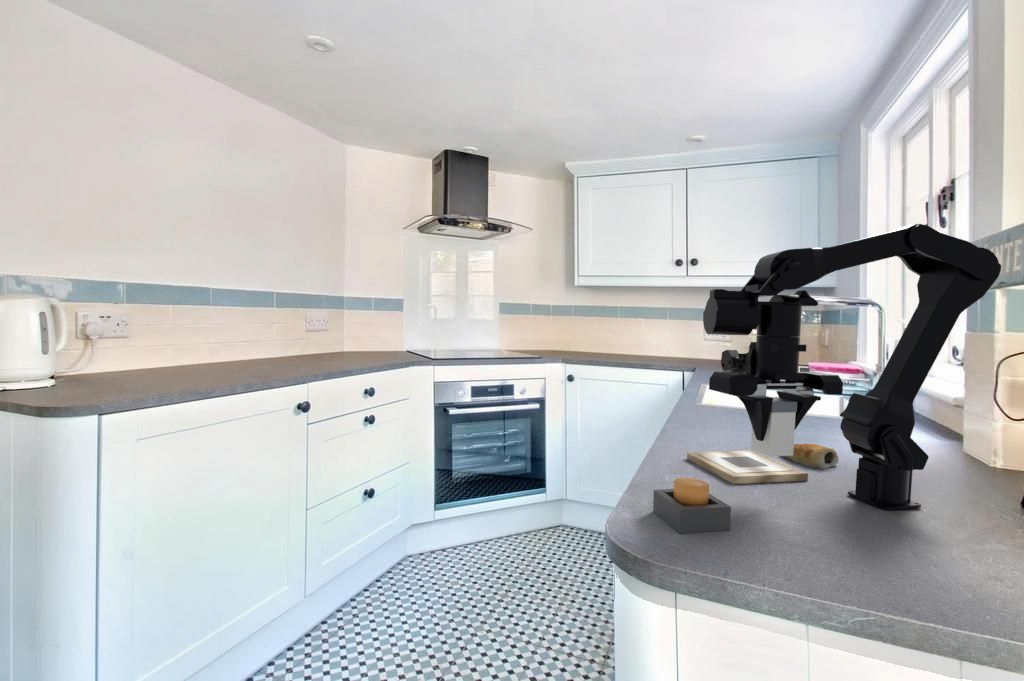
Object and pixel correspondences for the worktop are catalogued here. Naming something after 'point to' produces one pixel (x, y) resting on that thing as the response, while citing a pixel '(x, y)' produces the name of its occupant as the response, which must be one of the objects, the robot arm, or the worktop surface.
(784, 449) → the two-tone grey block
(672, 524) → the button housing
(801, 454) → the pastry
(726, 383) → the robot arm
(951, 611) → the worktop surface
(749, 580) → the worktop surface
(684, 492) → the button
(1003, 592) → the worktop surface
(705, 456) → the picture frame
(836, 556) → the worktop surface
